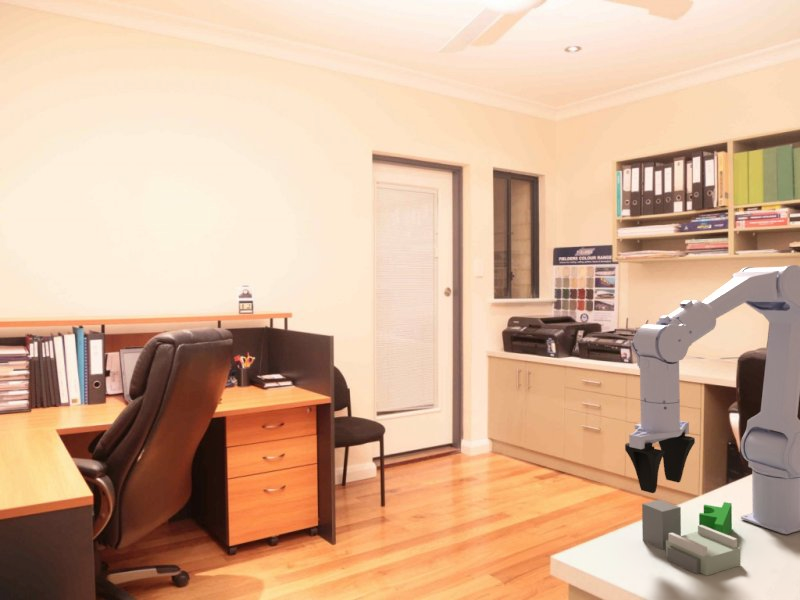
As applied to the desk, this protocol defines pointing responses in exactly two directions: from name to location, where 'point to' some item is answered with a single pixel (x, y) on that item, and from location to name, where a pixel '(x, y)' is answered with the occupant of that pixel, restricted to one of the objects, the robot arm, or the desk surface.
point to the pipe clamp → (717, 518)
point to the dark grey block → (660, 522)
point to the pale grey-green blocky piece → (703, 551)
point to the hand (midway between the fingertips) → (661, 485)
